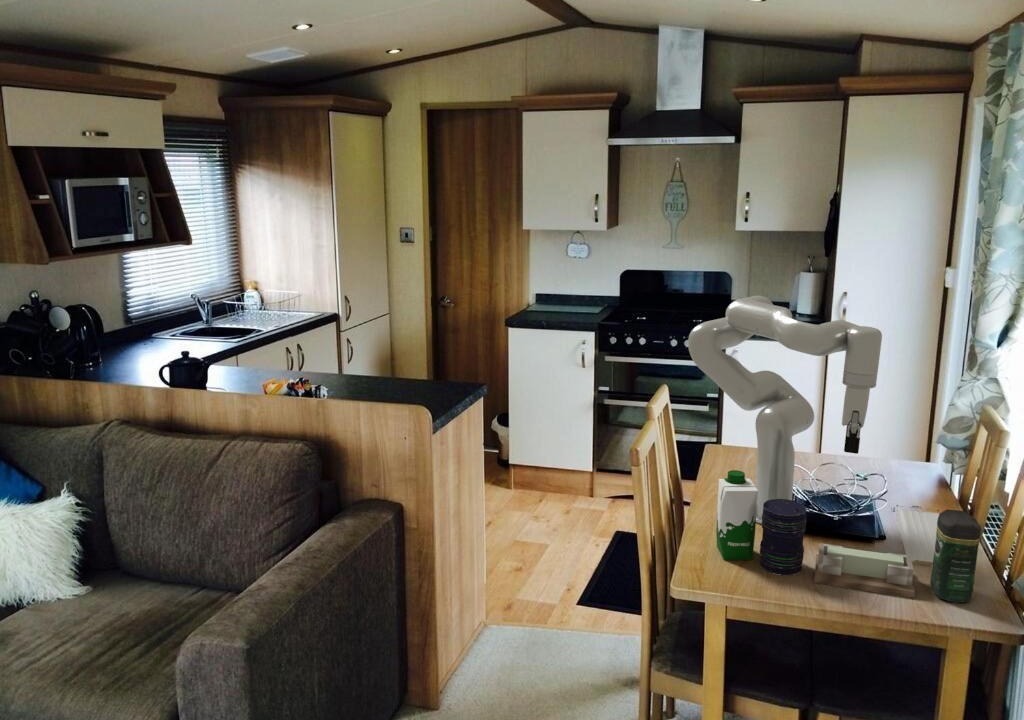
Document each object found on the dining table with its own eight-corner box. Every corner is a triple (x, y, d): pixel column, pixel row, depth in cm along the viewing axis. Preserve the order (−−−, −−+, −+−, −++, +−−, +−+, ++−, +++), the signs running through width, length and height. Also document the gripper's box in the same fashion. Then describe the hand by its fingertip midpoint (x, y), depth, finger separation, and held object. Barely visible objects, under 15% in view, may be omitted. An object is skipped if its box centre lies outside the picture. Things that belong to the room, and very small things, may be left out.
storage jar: (751, 567, 201) (755, 508, 198) (769, 552, 209) (773, 495, 205) (792, 580, 195) (797, 519, 192) (809, 564, 202) (813, 505, 199)
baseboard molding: (900, 563, 204) (956, 571, 200) (902, 552, 203) (958, 559, 199) (889, 512, 232) (938, 518, 229) (890, 502, 232) (939, 508, 228)
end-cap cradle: (814, 582, 194) (816, 560, 193) (815, 559, 205) (817, 538, 203) (914, 598, 187) (916, 575, 185) (910, 573, 198) (912, 551, 196)
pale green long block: (826, 570, 197) (827, 552, 195) (826, 563, 200) (827, 545, 199) (902, 581, 191) (903, 562, 190) (901, 574, 194) (902, 556, 193)
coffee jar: (976, 606, 183) (986, 526, 179) (936, 602, 185) (945, 522, 181) (964, 584, 192) (974, 508, 188) (926, 581, 194) (934, 504, 190)
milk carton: (747, 545, 213) (752, 469, 208) (757, 561, 204) (762, 483, 199) (712, 545, 213) (715, 469, 208) (720, 562, 204) (724, 483, 199)
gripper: (844, 368, 213) (836, 432, 217) (841, 386, 197) (833, 455, 202) (876, 371, 210) (868, 437, 214) (876, 389, 195) (867, 460, 199)
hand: (851, 445), depth 208 cm, fingers open, 9 cm apart
